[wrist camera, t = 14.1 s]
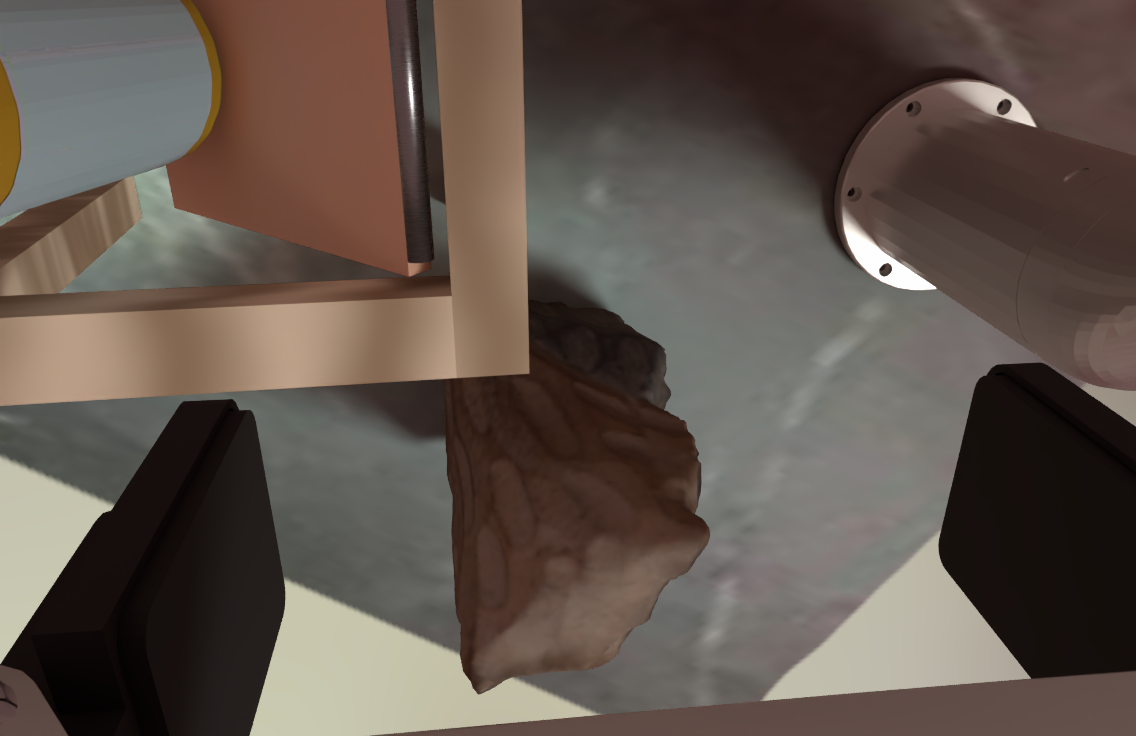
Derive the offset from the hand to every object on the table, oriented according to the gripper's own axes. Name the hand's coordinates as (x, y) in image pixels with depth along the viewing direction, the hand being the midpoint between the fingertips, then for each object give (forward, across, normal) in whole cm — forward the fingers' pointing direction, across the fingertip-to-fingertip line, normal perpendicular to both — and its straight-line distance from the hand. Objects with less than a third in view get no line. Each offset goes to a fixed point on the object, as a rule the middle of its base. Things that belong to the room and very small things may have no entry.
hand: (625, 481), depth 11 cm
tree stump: (+39, -1, +16) cm, 42 cm away
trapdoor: (+23, +8, -4) cm, 25 cm away
